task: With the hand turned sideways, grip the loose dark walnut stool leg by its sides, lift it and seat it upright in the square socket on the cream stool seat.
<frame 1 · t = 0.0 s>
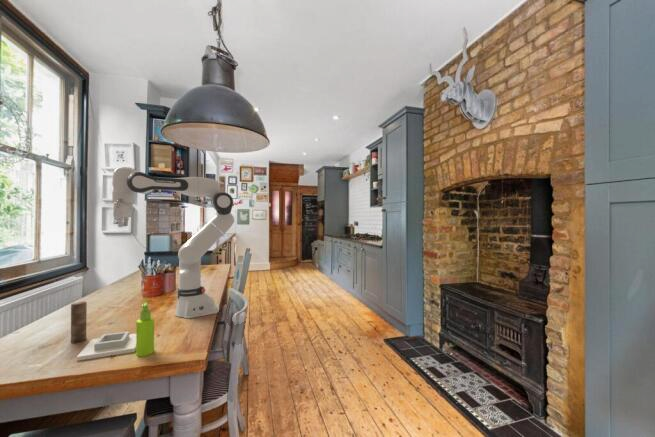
hand: (123, 226, 144), 48 cm above the table, tool pointing down, fingers open, 8 cm apart
stool seat: (112, 347, 115), on the table
soap dispenser: (145, 354, 111), on the table
walnut leg: (78, 340, 121), on the table
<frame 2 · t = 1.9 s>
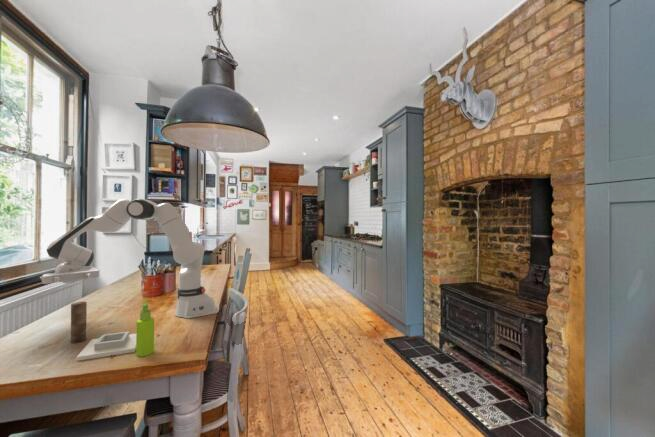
hand: (74, 278, 129), 25 cm above the table, tool horizontal, fingers open, 8 cm apart
nothing on the table moved.
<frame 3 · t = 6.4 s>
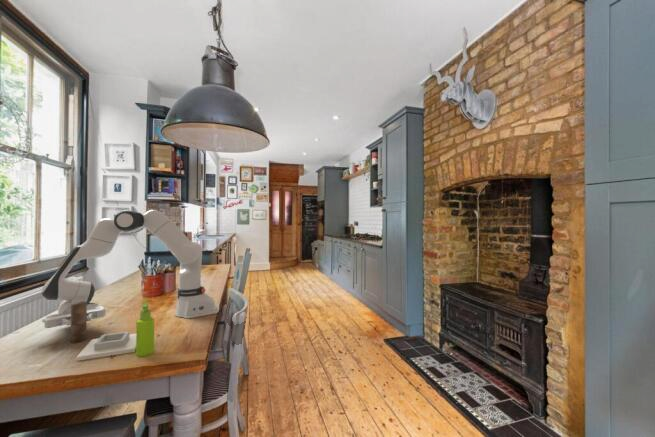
hand: (79, 321, 121), 9 cm above the table, tool horizontal, fingers closed on walnut leg, 5 cm apart
walnut leg: (78, 340, 121), on the table, touching gripper
everything else where it was.
when the fingers open (11 cm above the table, at t = 14.2 s): walnut leg stays where it is, resting on stool seat.
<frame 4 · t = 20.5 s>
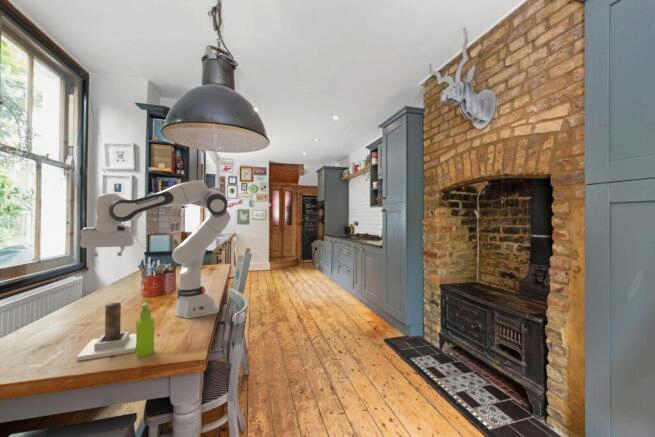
hand: (107, 256, 135), 34 cm above the table, tool pointing down, fingers open, 8 cm apart
walnut leg: (112, 343, 115), point 2 cm above the table, touching stool seat
everything else where it was.
at the end: walnut leg 0.0 cm off-centre on the stool seat, point 1.5 cm above the stool seat's base; walnut leg tilted 0°; the gripper is holding nothing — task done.
